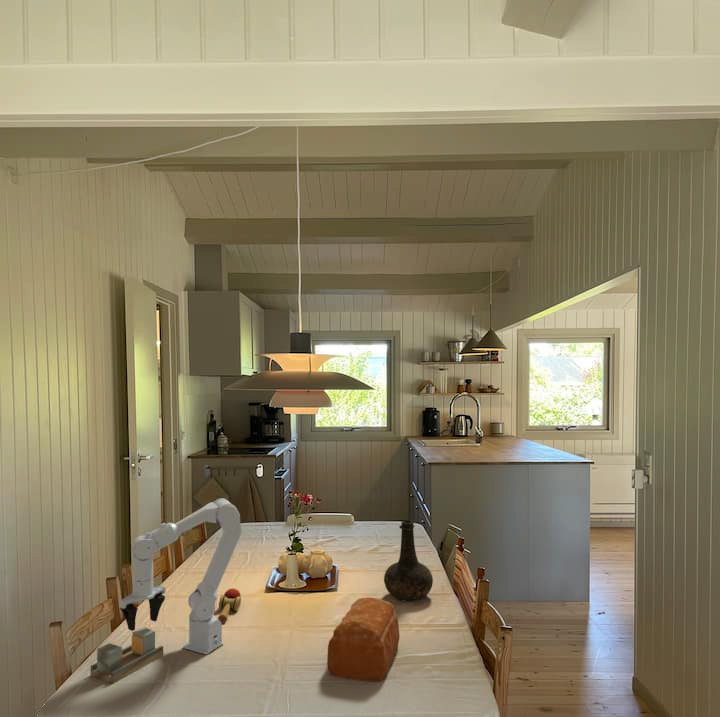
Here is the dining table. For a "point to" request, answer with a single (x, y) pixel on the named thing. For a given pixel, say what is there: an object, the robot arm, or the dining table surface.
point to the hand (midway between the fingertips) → (142, 625)
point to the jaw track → (125, 661)
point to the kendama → (229, 603)
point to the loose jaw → (143, 641)
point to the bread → (364, 641)
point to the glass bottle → (408, 570)
